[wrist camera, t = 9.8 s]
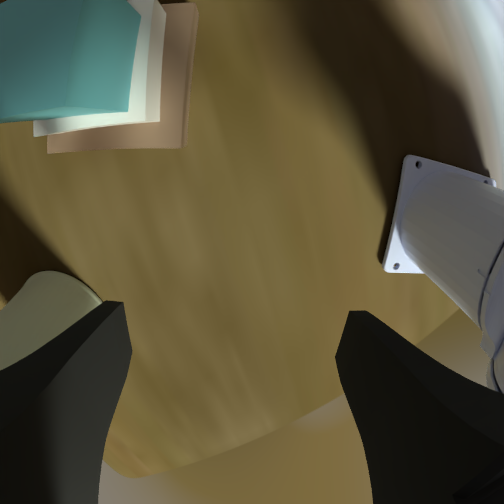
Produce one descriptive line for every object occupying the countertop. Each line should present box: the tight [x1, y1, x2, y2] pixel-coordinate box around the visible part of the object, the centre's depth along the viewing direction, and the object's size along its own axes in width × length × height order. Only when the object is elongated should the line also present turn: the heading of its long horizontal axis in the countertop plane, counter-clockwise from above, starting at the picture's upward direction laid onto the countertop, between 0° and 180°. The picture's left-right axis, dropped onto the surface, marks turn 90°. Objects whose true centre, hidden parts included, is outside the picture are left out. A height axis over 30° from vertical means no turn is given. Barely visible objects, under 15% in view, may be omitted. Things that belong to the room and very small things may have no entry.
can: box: [0, 271, 103, 370], centre depth 14 cm, size 9×9×12 cm
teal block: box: [0, 0, 141, 123], centre depth 7 cm, size 4×4×5 cm
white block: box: [34, 0, 166, 137], centre depth 11 cm, size 6×6×2 cm
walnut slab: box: [47, 3, 199, 154], centre depth 13 cm, size 8×8×2 cm
